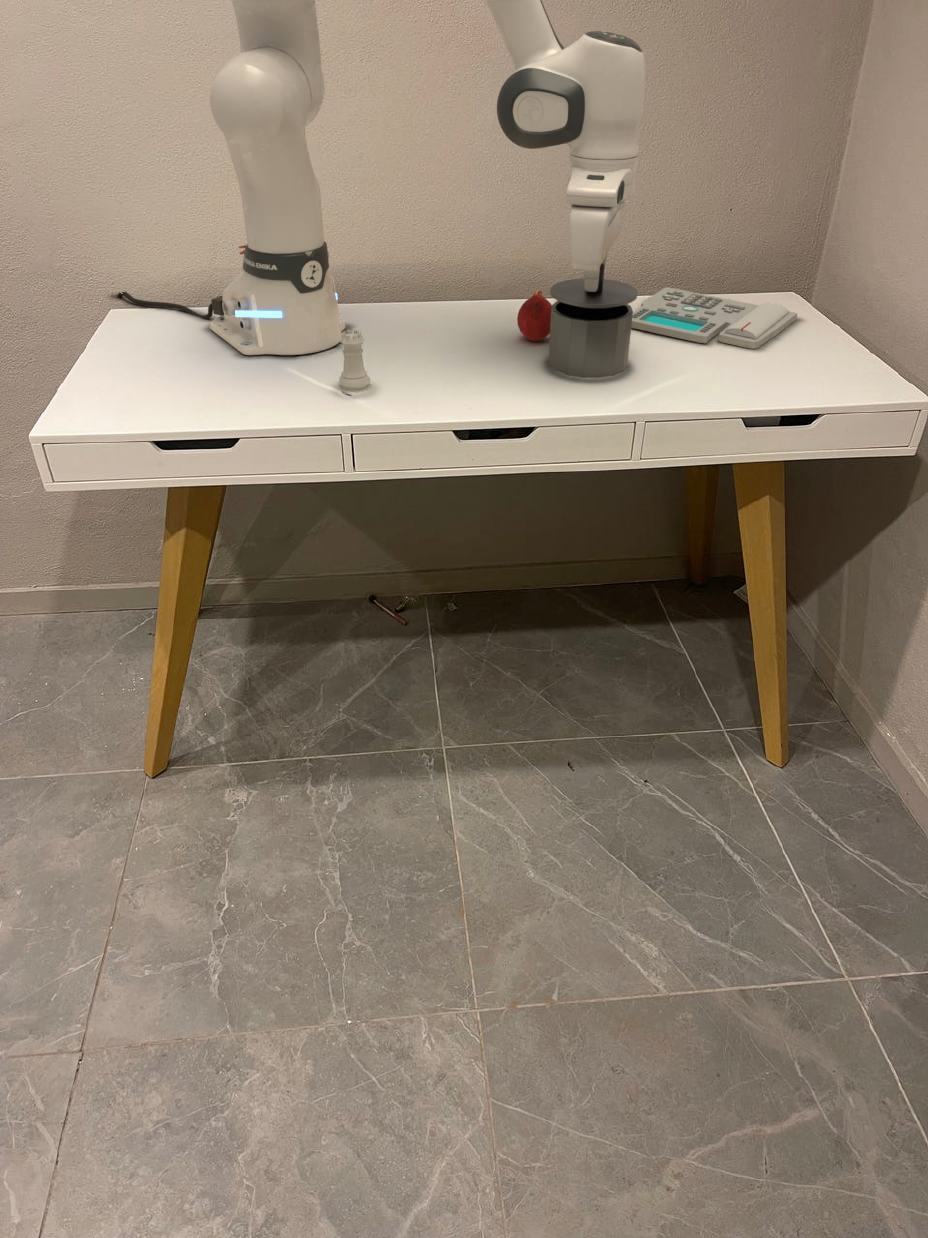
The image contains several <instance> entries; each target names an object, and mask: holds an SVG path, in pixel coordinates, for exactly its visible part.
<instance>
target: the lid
mask: <svg viewBox="0 0 928 1238" xmlns="http://www.w3.org/2000/svg"><path fill="white" fill-rule="evenodd" d="M605 268H606V264H605V265H604V264H601V266H600V272H599V276H600V280H599V287H598V289H597V291H596V292H589V291H586V290H585V289H584V286H585V277H583V278H571V279H567V280H562V281H559V282H557V283H555V284H553V285H552V286H551V287H550V292H549V293H550V296H551V297H552V298H553V299H554V300H556V301H560V302H562V303H565V304H569V305H573V306H577V307H583V308H610V307H616V306H622V305H626V304H628V305H630V304H631V303H633V302H635V301H636V300H637V298H638V295H639V294H638V290H637V289H636V288H635V287H634V286H633V285H630V284H628V283H625V282H622V281H618V280H614V279H607V278H605Z"/></svg>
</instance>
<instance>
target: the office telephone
mask: <svg viewBox="0 0 928 1238" xmlns="http://www.w3.org/2000/svg"><path fill="white" fill-rule="evenodd" d="M797 318H798V313H797V312H794V311H790V310H789V309H788V308H787V307H786V306H784V305H783V304H779V303H776V302H763V303H760V304H754V303H748V302H744V301H739V300H733V299H729V298H724V297H718V296H714V295H708V294H704V293H698V292H694V291H689V290H686V289H685V290H684V289H680V288H675V287H670V286H666V287H663V288H662V289H660V290H658V291H657V292H656V293H654V294H652V295H651V296H649V297H647V298H646V299H644V300H643V301H642V302H641V303H640V307H639V308H637V309H636V310H633V315H632V325H631V329H636V330H641V331H645V332H650V333H654V334H659V335H663V336H666V337H667V336H668V337H672V338H676V339H680V340H685V341H690V342H694V343H695V342H696V343H700V344H707V343H708V342H709V341H711V339H713V338H714V337H715V336H717V335H718V337H717V338H718V339H717V341H718V342H720V343H724V344H728V345H733V346H737V347H741V348H746V349H750V350H751V349H752V350H753V349H758V348H760V347H762V346H763V345H764V344H765V343H767V342H768V341H769V340H770V339H773V338H774V337H776V336H777V335H778V334H779V333H781V332H782V331H784V330H785V329H786V328H788V327H789V326H790V325H791V324H792V323H794V322H796V321H797Z"/></svg>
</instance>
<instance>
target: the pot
mask: <svg viewBox="0 0 928 1238" xmlns="http://www.w3.org/2000/svg"><path fill="white" fill-rule="evenodd" d="M551 305H552V306H551V322H550V334H549V340H548V341H549V342H548V358H547V360H548V366H549V367H550V368H551V369H553V370H554V371H555V372H558V373H561V374H563V375H566V376H571V377H577V378H582V379H584V378H585V379H600V378H607V377H613V376H616V375H618V374H621V373H623V372H625V370H626V369H627V367H628V363H629V354H630V353H629V352H630V343H631V342H630V341H631V334H632V328H631V325H632V315H633V312H634V310H633V308H632V306H631V305H630V304H626V305H622V306H616V307H610V308H583V307H577V306H573V305H569V304H565V303H562V302H560V301H557V300H556V301H555V302H554V303H552V304H551Z"/></svg>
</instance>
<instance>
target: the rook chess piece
mask: <svg viewBox="0 0 928 1238" xmlns="http://www.w3.org/2000/svg"><path fill="white" fill-rule="evenodd" d="M351 331H352V330H351V329H347V330H346V331H344V330H343V331H342V332H341V333H342V337H341V339H340V342H339V343H341V344H342V346H343V349H342V350H341V352H342V354H343V370H342V372H341V375H340V376H339V380H338V383H339V384H340V385H339V386H338V387H339V390H340V392H341V393H342V394H343V395H346V396H350V397H353V395H352V394H357V393H358V394H359V393H364V392H367V391H369V390H371V386H372V385H371V384H370V383H371V377H370V376H369V375H368V372H367V371H366V369H365V366H364V360H363V353H364V350H363V348H362V345H363V343H364V342H365V338H364V337H363V335H362V332H361V330H359V331H358V329H353V332H351Z"/></svg>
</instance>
